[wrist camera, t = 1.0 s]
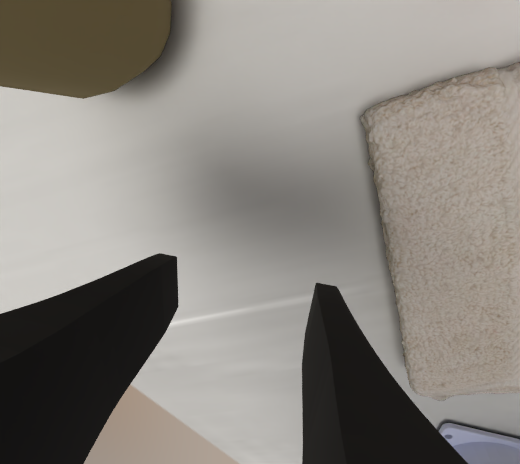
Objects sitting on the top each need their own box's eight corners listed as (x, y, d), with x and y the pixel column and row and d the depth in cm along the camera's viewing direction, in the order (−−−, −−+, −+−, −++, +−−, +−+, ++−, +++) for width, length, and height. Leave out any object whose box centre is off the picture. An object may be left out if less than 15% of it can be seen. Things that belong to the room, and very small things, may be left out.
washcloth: (404, 374, 20) (417, 418, 17) (349, 107, 14) (356, 109, 11) (627, 359, 17) (688, 410, 14) (682, -5, 11) (808, -42, 8)
